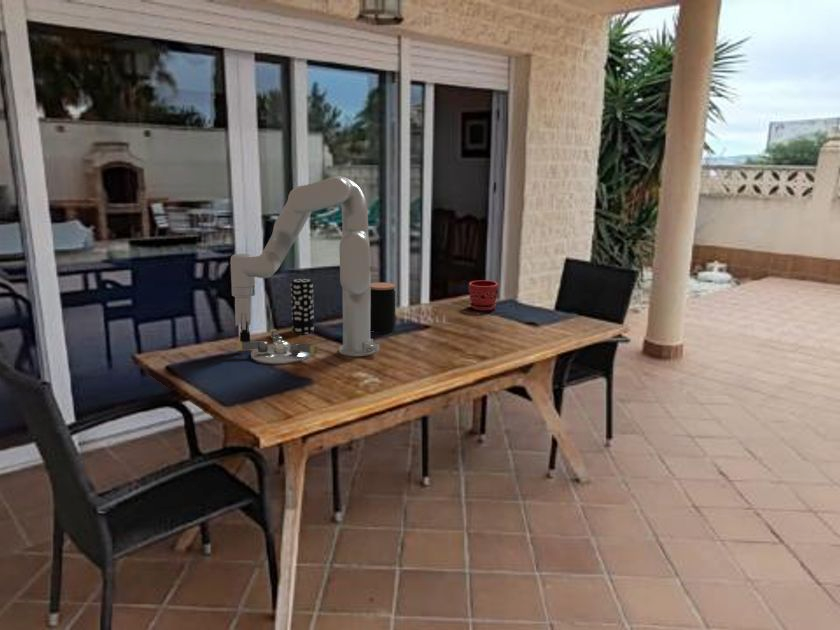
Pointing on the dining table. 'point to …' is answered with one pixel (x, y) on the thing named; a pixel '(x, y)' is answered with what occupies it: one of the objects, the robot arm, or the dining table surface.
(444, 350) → the dining table surface
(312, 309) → the spotted tube
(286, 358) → the tribrach plate
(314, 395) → the dining table surface
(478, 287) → the plant pot
